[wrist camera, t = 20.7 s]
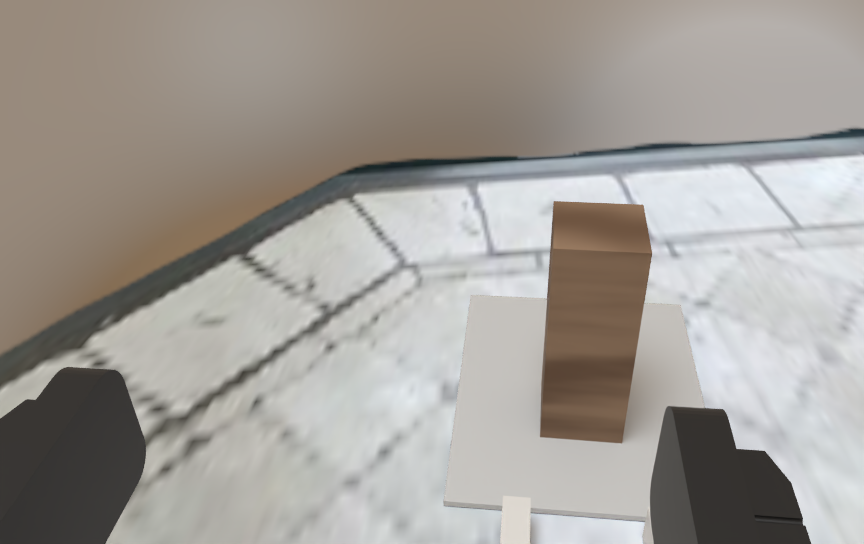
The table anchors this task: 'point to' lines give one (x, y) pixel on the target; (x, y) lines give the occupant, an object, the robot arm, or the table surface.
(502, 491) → the mat
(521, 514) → the chute
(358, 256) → the table surface
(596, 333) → the walnut block
